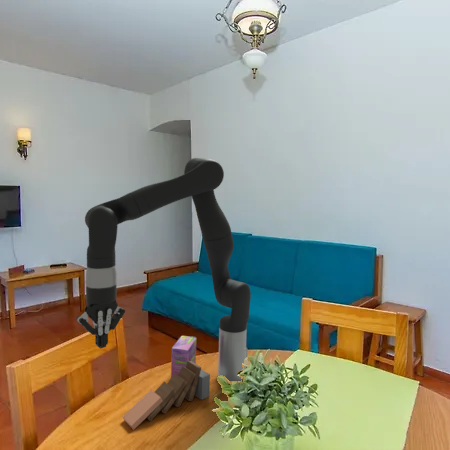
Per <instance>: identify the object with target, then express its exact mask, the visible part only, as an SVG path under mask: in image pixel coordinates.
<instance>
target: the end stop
mask: <svg viewBox="0 0 450 450" xmlns="http://www.w3.org/2000/svg"><path fill="white" fill-rule="evenodd" d="M210 382H211V374H210V373H209V372H207V371H205V370H203V369H201V371H200V375H199V379H198V383H197V387H196V390H195V394H194V397H195V396H196V397H197V398H199V399H200V400H202V401H203V400H205V399H207V398H209V397H210V393H211V392H210V390H211V389H210V388H211V387H210V386H211V385H210V384H211V383H210Z"/></svg>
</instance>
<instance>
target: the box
mask: <svg viewBox="0 0 450 450" xmlns="http://www.w3.org/2000/svg"><path fill="white" fill-rule="evenodd" d="M170 361H171V363H170V364H171V367H170V379H171V378H172V376H173V375H174V374H176V375H178V374H179V372H180V370H181V368H182V366H183V367H185V368H186V365H187V361H192V362H194V363H195V364H197V337H196V336H189V335H188V336H187V335H181V336H180V337H179V338H178V339H177V341H176V342H175V343H174V345H173V346H172V347H171V360H170Z"/></svg>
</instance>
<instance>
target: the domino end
mask: <svg viewBox="0 0 450 450" xmlns="http://www.w3.org/2000/svg"><path fill="white" fill-rule="evenodd" d="M162 402H163V400H162V399H161V397H160V396H159V395H157V394H156V393H155V391H153V390H152V389H150V390H149V391H148V392H147V393H146V394H145V395H144V396H143V397H142V398H140V399H139V400H138V401H137V402H136V404H134V405H133V406H132V407H131V408H129V410H128V411H126V413H124V415H123V416H121V417H122V419H123V421H124V422H125V423H126V424H127V425H128V426H129V427H130V428H131V429H132V430H133V431H134V430H135V429H136V428H137V427H138V426H139V425H141V424H142V423H143V421H144V420H146V419H147V418H146V417H147V416H148V415H149V414H150V413H151V412H152V411H153V410H154V409H155V408H157V407H158V406H159V405H160V404H161V403H162Z"/></svg>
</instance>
